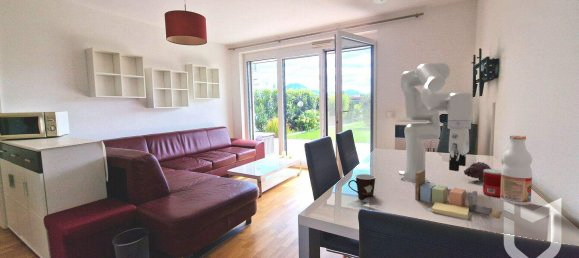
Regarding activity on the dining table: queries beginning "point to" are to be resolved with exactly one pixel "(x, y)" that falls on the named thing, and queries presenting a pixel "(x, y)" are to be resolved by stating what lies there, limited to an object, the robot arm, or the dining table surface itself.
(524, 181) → the fruit juice
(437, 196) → the olive book
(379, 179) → the dining table surface
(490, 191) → the canned food
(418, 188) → the shelf
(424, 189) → the blue book
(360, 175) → the coffee mug
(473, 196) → the bookend
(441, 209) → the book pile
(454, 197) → the terracotta book
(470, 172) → the pine cone
